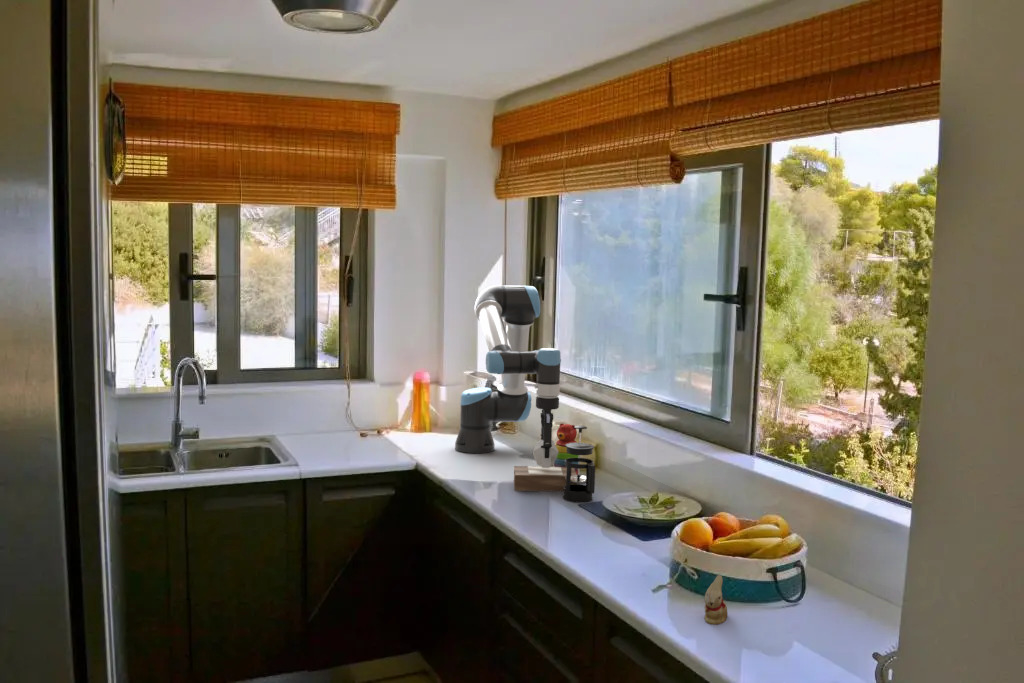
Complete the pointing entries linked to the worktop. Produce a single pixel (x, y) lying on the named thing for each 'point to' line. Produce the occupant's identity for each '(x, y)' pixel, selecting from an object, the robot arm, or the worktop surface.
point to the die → (538, 450)
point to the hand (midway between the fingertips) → (545, 463)
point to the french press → (577, 490)
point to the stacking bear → (565, 436)
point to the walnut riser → (540, 478)
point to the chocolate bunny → (715, 603)
